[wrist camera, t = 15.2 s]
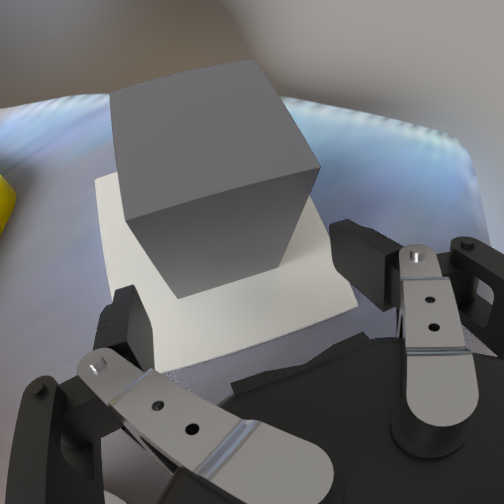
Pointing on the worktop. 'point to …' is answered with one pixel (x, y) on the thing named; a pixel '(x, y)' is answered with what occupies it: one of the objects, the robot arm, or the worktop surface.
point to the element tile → (6, 201)
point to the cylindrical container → (112, 499)
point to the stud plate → (224, 291)
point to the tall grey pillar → (210, 173)
